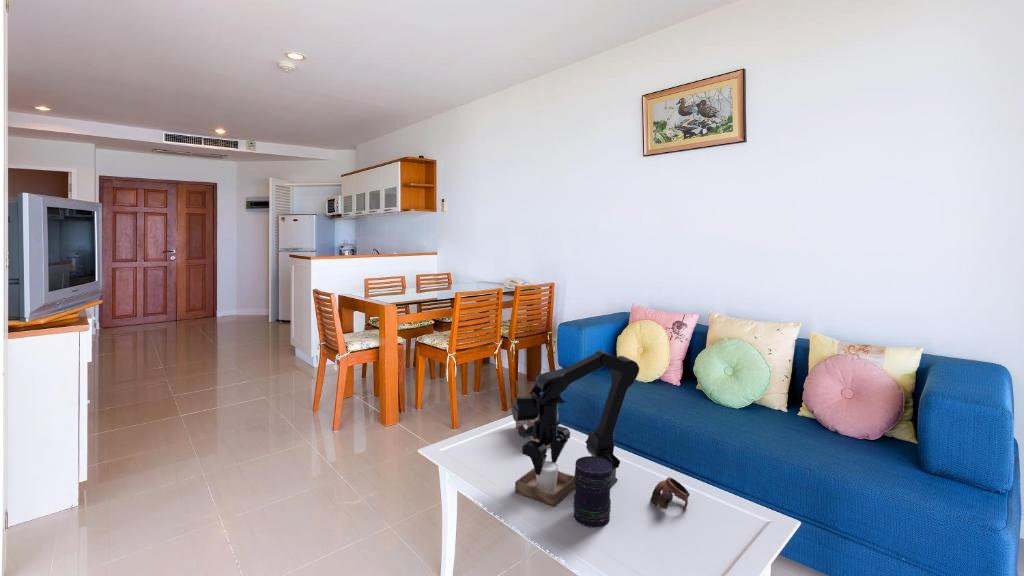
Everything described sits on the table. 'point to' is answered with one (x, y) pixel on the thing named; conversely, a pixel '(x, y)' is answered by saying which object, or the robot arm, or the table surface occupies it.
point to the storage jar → (592, 491)
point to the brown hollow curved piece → (669, 493)
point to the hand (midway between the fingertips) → (546, 468)
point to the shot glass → (548, 477)
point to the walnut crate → (529, 489)
